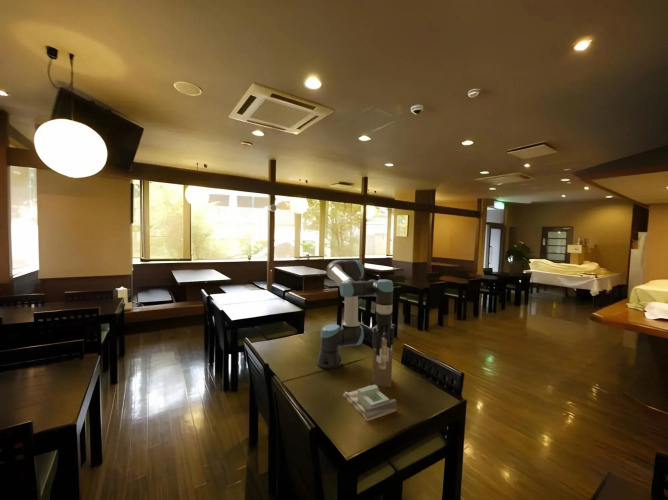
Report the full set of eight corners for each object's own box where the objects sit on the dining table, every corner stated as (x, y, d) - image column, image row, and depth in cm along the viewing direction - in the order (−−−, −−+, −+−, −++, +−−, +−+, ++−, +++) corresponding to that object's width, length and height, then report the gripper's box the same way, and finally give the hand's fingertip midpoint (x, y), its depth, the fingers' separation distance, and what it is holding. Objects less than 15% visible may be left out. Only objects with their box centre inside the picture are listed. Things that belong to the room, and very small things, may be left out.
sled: (357, 401, 134) (357, 389, 133) (374, 396, 138) (374, 384, 138) (370, 414, 124) (371, 401, 123) (388, 408, 128) (389, 396, 128)
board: (343, 395, 140) (343, 386, 139) (369, 388, 147) (369, 379, 147) (367, 421, 121) (367, 409, 121) (395, 411, 129) (396, 400, 128)
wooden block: (391, 388, 148) (392, 351, 147) (372, 385, 150) (373, 349, 149) (391, 378, 158) (392, 343, 157) (373, 376, 160) (374, 342, 159)
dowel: (376, 366, 135) (377, 338, 134) (382, 365, 136) (383, 337, 136) (381, 370, 131) (382, 340, 131) (387, 368, 133) (388, 339, 132)
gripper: (375, 316, 125) (373, 367, 126) (402, 312, 133) (400, 360, 135) (365, 312, 132) (363, 361, 133) (392, 308, 140) (390, 354, 141)
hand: (382, 360), depth 134 cm, fingers closed on dowel, 3 cm apart
